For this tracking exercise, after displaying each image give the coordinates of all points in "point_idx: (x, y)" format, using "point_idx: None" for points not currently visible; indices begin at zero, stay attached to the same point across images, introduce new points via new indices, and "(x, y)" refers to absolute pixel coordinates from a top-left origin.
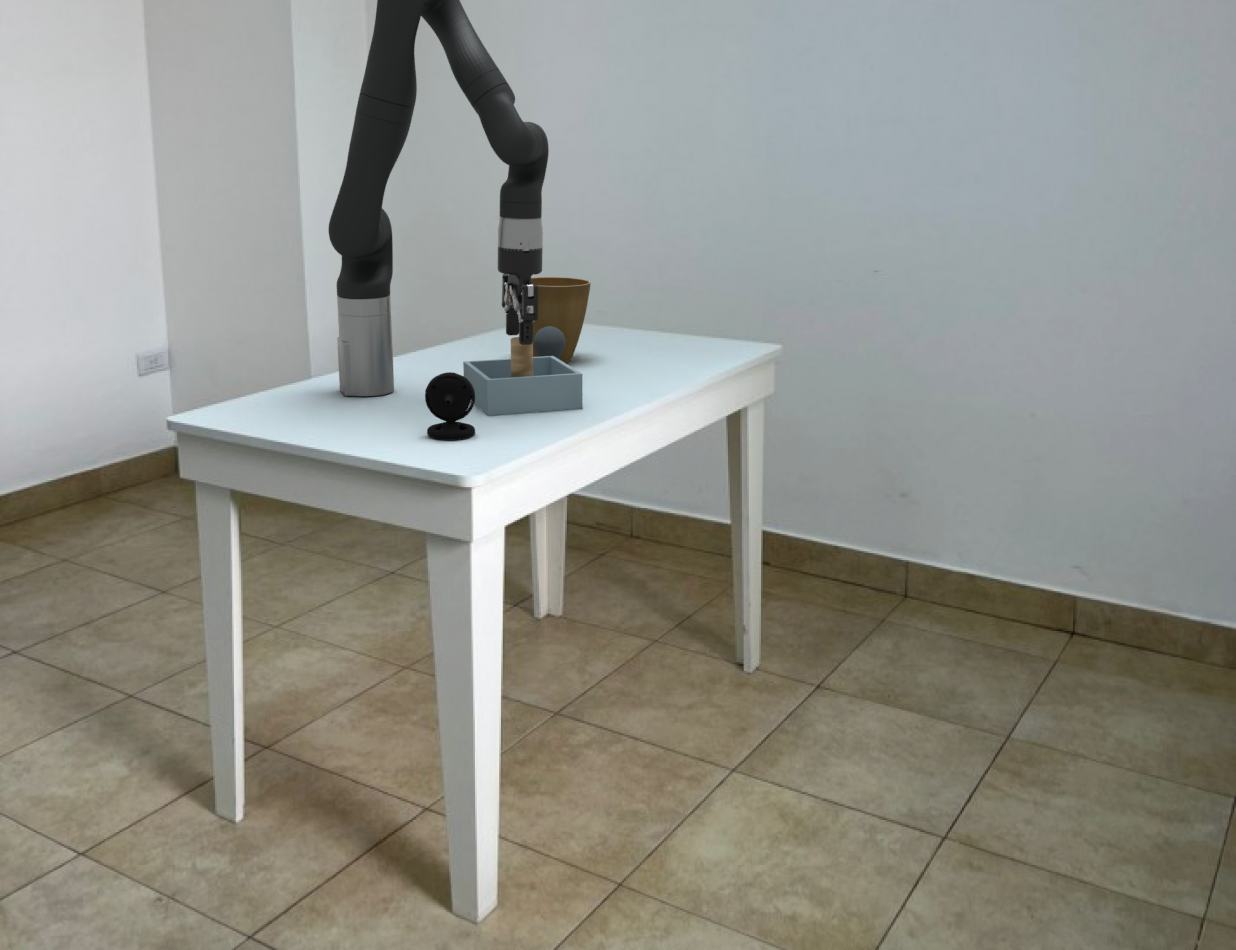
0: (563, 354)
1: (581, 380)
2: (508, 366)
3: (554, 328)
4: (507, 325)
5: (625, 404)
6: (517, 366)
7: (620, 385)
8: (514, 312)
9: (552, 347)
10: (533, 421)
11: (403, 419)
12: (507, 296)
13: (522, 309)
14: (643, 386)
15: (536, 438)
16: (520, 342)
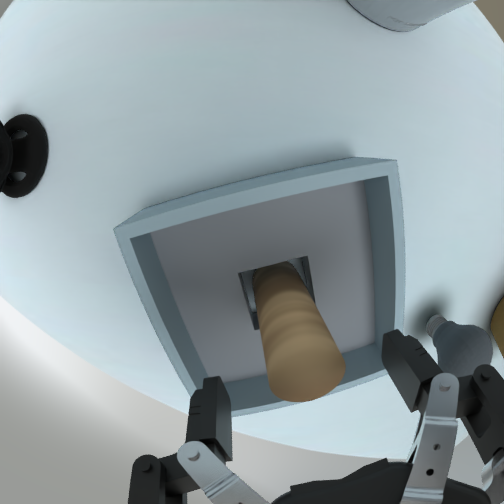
0: (495, 333)
1: None
2: (386, 277)
3: None
4: (399, 354)
5: (236, 418)
6: (263, 316)
7: (359, 407)
8: (421, 405)
9: (442, 363)
10: (107, 295)
11: (128, 42)
12: (411, 471)
13: (150, 494)
14: (344, 426)
15: (22, 290)
16: (203, 381)
